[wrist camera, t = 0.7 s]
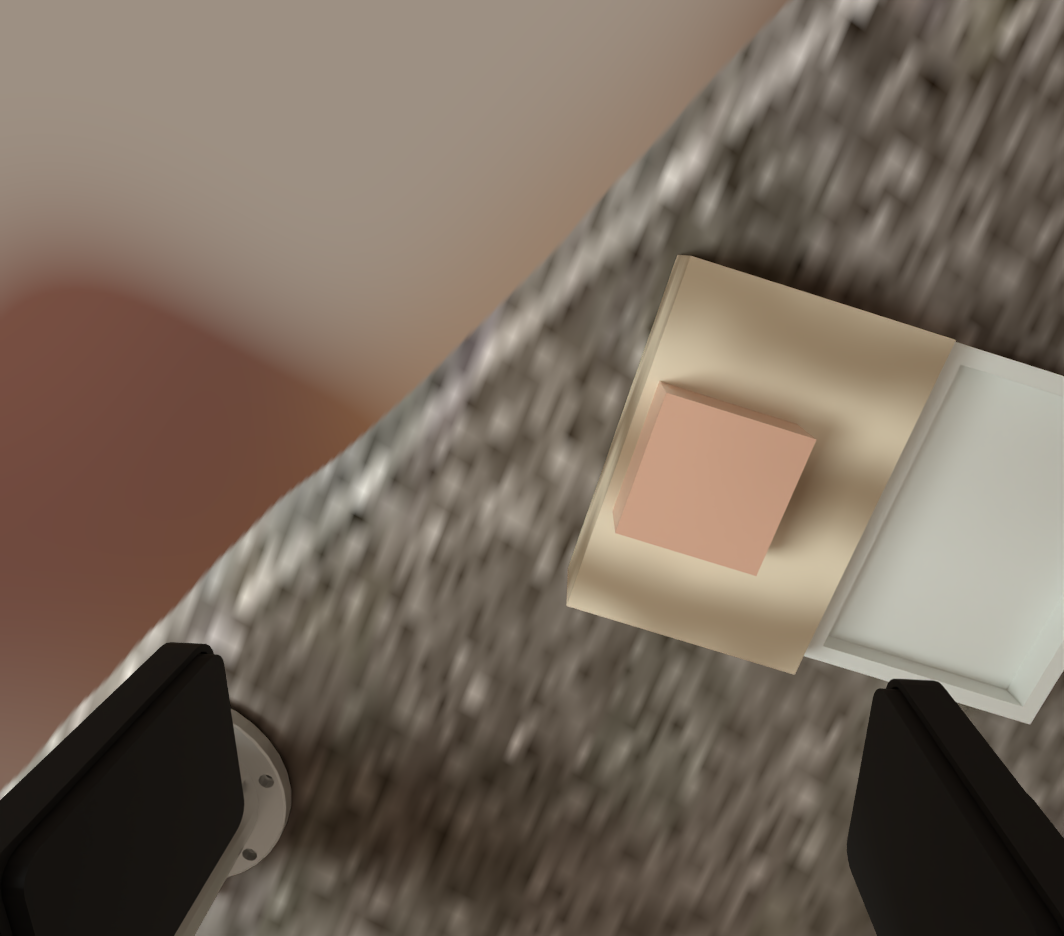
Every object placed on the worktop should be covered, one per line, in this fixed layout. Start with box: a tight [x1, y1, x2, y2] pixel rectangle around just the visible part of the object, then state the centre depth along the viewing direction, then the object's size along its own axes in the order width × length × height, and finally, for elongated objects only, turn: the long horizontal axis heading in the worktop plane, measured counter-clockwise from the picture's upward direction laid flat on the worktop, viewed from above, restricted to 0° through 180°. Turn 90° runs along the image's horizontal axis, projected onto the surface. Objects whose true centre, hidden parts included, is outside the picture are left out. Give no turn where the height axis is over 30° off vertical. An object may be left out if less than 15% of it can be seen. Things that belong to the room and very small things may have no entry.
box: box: [804, 342, 1064, 724], centre depth 34 cm, size 16×12×2 cm
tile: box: [612, 381, 817, 576], centre depth 29 cm, size 6×6×2 cm
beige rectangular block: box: [567, 255, 956, 675], centre depth 32 cm, size 16×11×4 cm
